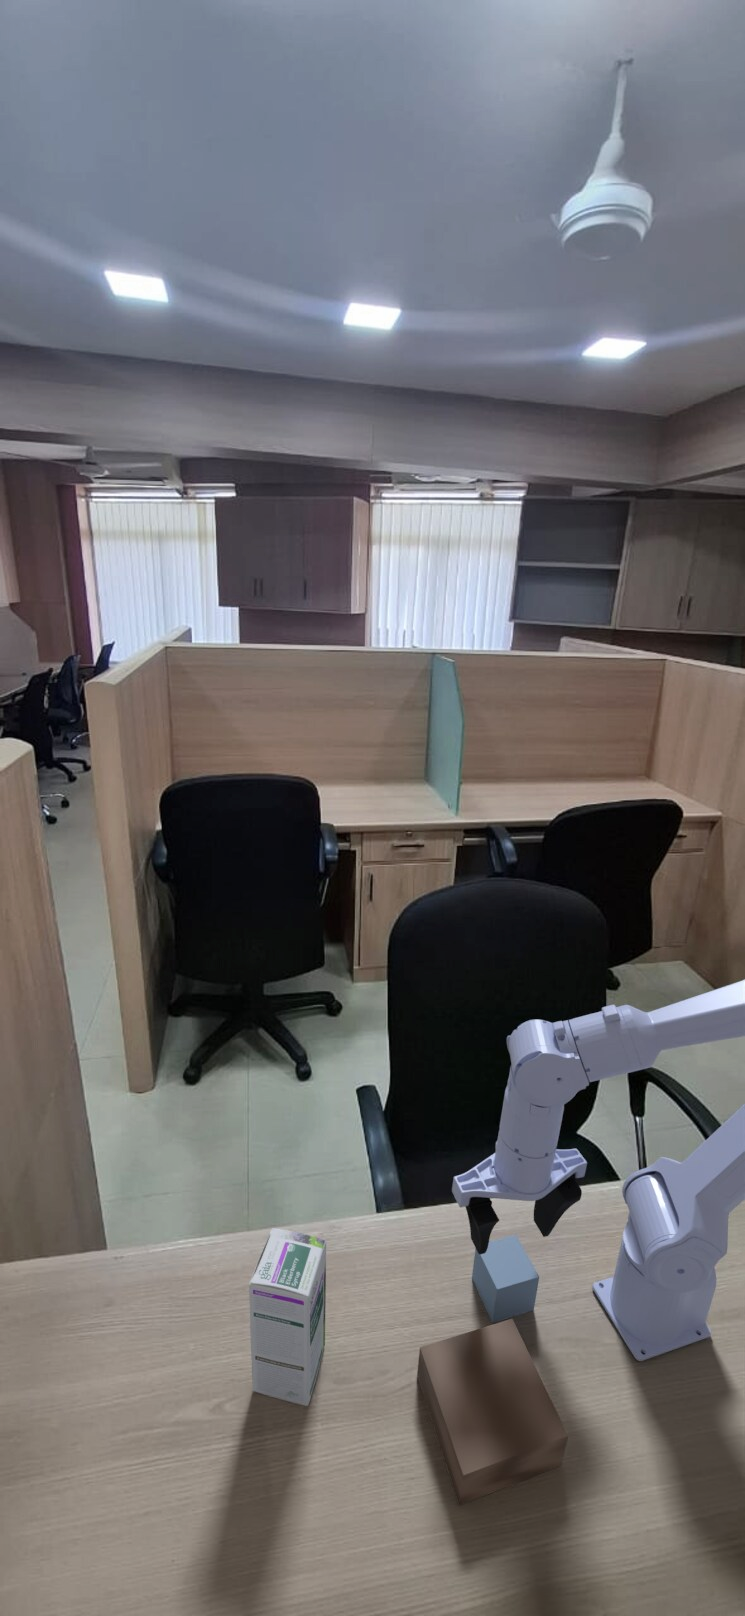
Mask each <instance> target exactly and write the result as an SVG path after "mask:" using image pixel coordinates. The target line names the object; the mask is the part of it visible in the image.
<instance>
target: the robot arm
mask: <svg viewBox="0 0 745 1616" xmlns="http://www.w3.org/2000/svg"><path fill="white" fill-rule="evenodd" d="M743 1037H745V978H744V979H743V980H740V981H737V982H736V981H735V982H734V983H730V984H728V985H724V986H722V987H719V988H716V989H712V990H710V991H708V992H704V993H701V994H699V995H695V996H693V997H689V998H687V999H683V1000H680V1001H678V1002H674V1003H671V1004H669V1005H666V1006H662V1007H660V1008H657V1009H655V1010H654V1009H653V1010H652V1011H651V1010H650V1011H648V1012H646V1011H643V1010H641V1009H638V1008H636V1007H635V1006H632V1005H630V1004H624V1005H620V1006H616V1004H610V1005H606V1006H603V1007H601V1010H600V1011H598V1012H594V1013H589V1014H585V1015H582V1016H578V1017H574V1018H571V1019H567V1020H563V1021H562V1020H558V1021H555V1022H550V1021H548V1020H544V1019H540V1018H539V1019H529V1020H527V1021H525V1022H522V1023H520V1024H519V1025H518V1026H517V1028H516V1029H514V1030H512V1033H511V1034H510V1035H507V1037H506V1046H507V1047H506V1048H507V1050H508V1053H509V1056H510V1057H509V1058H510V1062H511V1065H510V1067H509V1075H508V1079H507V1084H506V1087H505V1090H504V1096H503V1102H502V1109H501V1115H500V1121H499V1130H498V1136H497V1140H496V1141H495V1152H494V1153H493V1154H491V1155H490V1156H488V1157H487V1158H485V1159H484V1160H482V1161H481V1162H480V1163H478V1164H476V1165H475V1166H473V1167H472V1168H471V1169H469V1170H468V1171H465V1172H464V1173H460V1174H459V1175H455V1176H453V1180H452V1187H451V1192H452V1195H453V1196H454V1199H455V1201H456V1203H457V1205H458V1207H459V1208H464V1207H465V1210H466V1213H467V1218H468V1223H469V1229H470V1238H471V1241H472V1244H473V1245H474V1248H475V1249H476V1250H477V1252H478V1254H484V1253H486V1251H487V1248H488V1244H489V1242H490V1238H491V1233H492V1232H493V1229H494V1227H495V1226H496V1224H498V1223H499V1222H500V1218H499V1217H498V1214H497V1213H496V1212H495V1209H494V1208H493V1200H491V1199H501V1200H510V1201H513V1200H514V1201H522V1202H523V1201H524V1202H534V1206H533V1222H534V1223H535V1225H536V1227H537V1229H538V1230H539V1232H540V1233H541V1235H542V1237H543V1238H545V1237H549V1235H550V1234H551V1232H552V1231H553V1230H554V1228H555V1227H556V1224H557V1223H558V1222H559V1220H560V1219H561V1218H562V1216H563V1215H564V1214H565V1212H566V1211H567V1210H569V1209H570V1207H572V1206H573V1205H574V1204H576V1203H577V1202H578V1203H579V1201H581V1198H582V1194H583V1193H582V1188H581V1186H580V1185H579V1183H578V1182H577V1181H576V1179H580V1178H584V1177H585V1175H586V1171H587V1165H588V1162H587V1160H586V1159H585V1158H584V1157H583V1155H582V1154H581V1153H580V1151H579V1150H578V1149H577V1148H571V1149H568V1148H567V1149H558V1148H557V1147H558V1141H559V1136H560V1131H561V1126H562V1121H563V1115H564V1112H565V1105H566V1104H567V1103H568V1102H570V1101H571V1100H572V1099H573V1098H574V1097H575V1096H576V1094H577V1093H578V1092H581V1091H582V1090H586V1089H587V1087H588V1086H589V1085H590V1083H592V1082H596V1081H601V1080H605V1079H608V1078H613V1077H617V1076H621V1075H625V1074H629V1073H634V1072H638V1071H642V1070H645V1069H649V1068H651V1067H652V1066H653V1065H654V1063H655V1061H656V1060H657V1058H658V1056H659V1054H660V1053H661V1052H662V1051H665V1050H666V1051H667V1050H671V1049H678V1048H684V1047H689V1046H694V1045H695V1046H696V1045H701V1044H706V1043H707V1044H708V1043H712V1042H719V1041H724V1040H730V1039H736V1038H743ZM683 1160H684V1161H679V1160H675V1159H673V1158H669V1157H665V1156H660V1157H659V1158H658V1159H657V1160H655V1162H654V1163H652V1164H651V1165H649V1166H647V1167H644V1168H642V1169H639V1170H636V1171H635V1172H633V1173H632V1174H629V1176H628V1177H627V1178H626V1179H625V1181H623V1185H622V1188H621V1189H622V1190H621V1191H622V1197H623V1200H624V1202H625V1204H626V1206H627V1209H628V1211H629V1212H628V1216H627V1222H626V1224H625V1226H624V1230H623V1233H622V1239H621V1242H620V1245H619V1251H618V1255H617V1261H616V1265H615V1269H614V1273H613V1276H612V1277H609V1278H605V1279H602V1280H599V1281H595V1282H593V1283H592V1285H591V1286H592V1290H593V1292H594V1293H595V1295H596V1297H597V1299H598V1300H599V1301H600V1302H599V1303H601V1305H602V1307H603V1308H604V1310H605V1312H606V1314H608V1316H609V1318H610V1319H611V1321H612V1322H613V1325H614V1326H615V1328H616V1330H617V1331H618V1333H619V1334H620V1336H621V1338H622V1339H623V1341H624V1342H625V1344H626V1346H627V1347H628V1350H629V1351H630V1353H632V1356H633V1357H634V1358H635V1360H637V1361H639V1362H643V1361H645V1360H649V1359H651V1358H655V1357H657V1356H660V1355H663V1354H666V1353H667V1352H670V1351H674V1350H677V1349H680V1348H682V1347H685V1346H687V1345H690V1344H691V1345H692V1344H694V1343H696V1342H699V1341H702V1340H705V1339H708V1338H710V1337H711V1335H712V1330H711V1328H710V1327H709V1325H707V1323H706V1322H707V1319H708V1316H709V1313H710V1308H711V1306H712V1305H711V1304H712V1301H713V1297H714V1294H715V1292H716V1288H717V1274H716V1268H715V1267H716V1265H717V1264H718V1262H719V1261H721V1259H723V1258H724V1257H725V1256H726V1255H727V1253H728V1246H729V1245H728V1244H729V1242H728V1241H729V1217H730V1216H729V1215H730V1213H731V1212H732V1211H733V1210H734V1209H735V1208H737V1207H738V1206H739V1205H740V1204H741V1203H743V1202H744V1201H745V1103H744V1104H743V1105H742V1106H741V1107H740V1108H738V1110H736V1111H735V1112H734V1113H733V1114H732V1115H731V1116H730V1117H729V1118H728V1119H727V1120H726V1121H724V1122H723V1124H722V1125H720V1127H718V1128H717V1129H716V1130H715V1131H714V1132H713V1133H712V1134H711V1135H710V1136H709V1137H708V1138H706V1140H704V1142H702V1143H701V1144H700V1145H698V1147H697V1148H696V1149H695V1150H694V1151H693V1152H692V1153H691V1154H690V1155H688V1156H687V1157H686V1158H685V1159H683ZM643 1353H644V1354H643Z"/></svg>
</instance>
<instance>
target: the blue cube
mask: <svg viewBox="0 0 745 1616" xmlns="http://www.w3.org/2000/svg"><path fill="white" fill-rule="evenodd" d="M472 1265H473V1267H472V1274H471V1279H472V1281H473V1283H474V1286H475V1288H476V1290H477V1289H478V1290H477V1292H478V1294H480V1295H479V1297H480V1299H481V1302H482V1304H483V1303H484V1304H483V1306H484V1307H485V1310H486V1313H487V1314H488V1316H490V1317H489V1319H490V1321H491V1323H492V1324H493V1323H494V1324H495V1323H498V1322H501V1321H503V1320H504V1321H505V1320H506V1318H507V1319H511V1318H513V1317H515V1316H516V1317H517V1316H520V1315H522V1314H525V1313H528V1312H533V1311H535V1305H536V1299H537V1291H538V1287H539V1281H540V1275H539V1273H538V1272H537V1270H536V1268H535V1267H534V1266H535V1265H533V1263H532V1261H531V1258H530V1257H529V1255H528V1254H527V1252H526V1250H525V1248H524V1247H523V1245H522V1243H521V1240H519V1237H518V1236H517V1234H513V1235H509V1236H504V1237H502V1238H498V1239H495V1240H491V1241H490V1240H489V1244H488V1248H487V1251H486V1253H484V1254H478V1252H477V1250H476V1248H475V1251H474V1258H473V1264H472Z"/></svg>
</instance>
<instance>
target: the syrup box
mask: <svg viewBox="0 0 745 1616" xmlns="http://www.w3.org/2000/svg"><path fill="white" fill-rule="evenodd" d="M261 1250H262V1251H261V1253H260V1254H259V1257H258V1260H257V1262H256V1265H255V1268H254V1270H253V1273H252V1275H251V1279H249V1283H248V1293H249V1294H248V1295H249V1296H248V1297H249V1320H250V1321H249V1322H250V1323H249V1325H250V1326H249V1327H250V1349H251V1352H250V1353H251V1373H252V1374H251V1381H252V1383H251V1384H252V1391H253V1392H255V1393H259V1394H262V1395H265V1396H267V1397H270V1398H271V1397H272V1398H274V1399H275V1398H276V1399H279V1400H282V1401H284V1402H285V1401H286V1402H290V1403H293V1404H297V1405H299V1406H305V1407H308V1406H309V1405H310V1401H311V1397H312V1396H313V1395H312V1394H313V1391H314V1387H315V1385H316V1381H317V1378H318V1374H319V1369H320V1366H321V1362H322V1358H323V1354H324V1350H325V1346H326V1300H327V1299H326V1296H327V1295H326V1292H327V1291H326V1289H327V1288H326V1287H327V1286H326V1285H327V1284H326V1283H327V1282H326V1281H327V1280H326V1279H327V1241H326V1239H323V1238H320V1237H317V1236H312V1235H310V1234H305V1233H302V1232H297V1231H293V1230H287V1229H281V1228H280V1229H279V1228H275V1227H271V1230H270V1232H269V1234H268V1237H267V1240H266V1241H265V1244H264V1246H263V1248H262V1249H261Z"/></svg>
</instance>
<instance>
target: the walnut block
mask: <svg viewBox="0 0 745 1616" xmlns="http://www.w3.org/2000/svg"><path fill="white" fill-rule="evenodd" d="M418 1351H419V1352H418V1353H419V1354H418V1361H417V1362H418V1364H417V1370H416V1371H417V1374H416V1376H417V1380H418V1383H419V1387H420V1388H421V1392H422V1396H423V1398H424V1401H425V1405H426V1407H427V1411H428V1415H429V1417H430V1420H431V1423H432V1426H433V1429H434V1432H435V1433H434V1434H435V1435H436V1438H437V1441H438V1445H439V1448H440V1451H441V1454H442V1457H443V1460H444V1463H445V1466H446V1469H447V1472H448V1475H449V1479H450V1481H451V1482H450V1483H451V1485H452V1488H453V1491H454V1494H455V1497H456V1501H457V1503H458V1506H461V1505H464V1504H466V1503H469V1502H472V1501H474V1500H477V1499H479V1498H481V1497H484V1496H487V1495H489V1494H492V1493H495V1492H498V1491H499V1490H502V1489H505V1488H507V1487H510V1486H512V1485H515V1484H517V1483H520V1482H522V1481H524V1480H525V1481H526V1480H527V1479H530V1478H532V1477H535V1476H537V1475H538V1476H539V1475H541V1474H542V1473H545V1472H548V1471H551V1470H553V1469H555V1468H558V1467H560V1466H562V1465H563V1461H564V1456H565V1454H566V1453H565V1452H566V1447H567V1443H568V1438H569V1434H568V1432H567V1429H566V1428H565V1426H564V1424H563V1422H562V1420H561V1417H560V1415H559V1414H558V1411H557V1409H556V1407H555V1405H554V1403H553V1401H552V1398H551V1397H550V1394H549V1393H548V1390H547V1388H546V1386H545V1384H544V1382H543V1380H542V1377H541V1375H540V1374H539V1372H538V1370H537V1367H536V1365H535V1363H534V1361H533V1359H532V1356H531V1355H530V1353H529V1351H528V1349H527V1346H526V1344H525V1341H524V1340H523V1337H522V1335H521V1334H520V1332H519V1329H518V1328H517V1325H516V1323H515V1321H514V1319H513V1318H508V1319H507V1320H506V1319H505V1320H504V1321H503V1320H502V1321H499V1322H495V1323H494V1324H493V1323H492V1324H491V1325H487V1326H483V1327H481V1328H477V1329H474V1330H471V1331H468V1332H464V1333H461V1334H458V1335H455V1336H452V1337H448V1338H444V1339H442V1340H438V1341H435V1342H432V1343H429V1344H426V1345H423V1346H420V1347H419V1350H418Z"/></svg>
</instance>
